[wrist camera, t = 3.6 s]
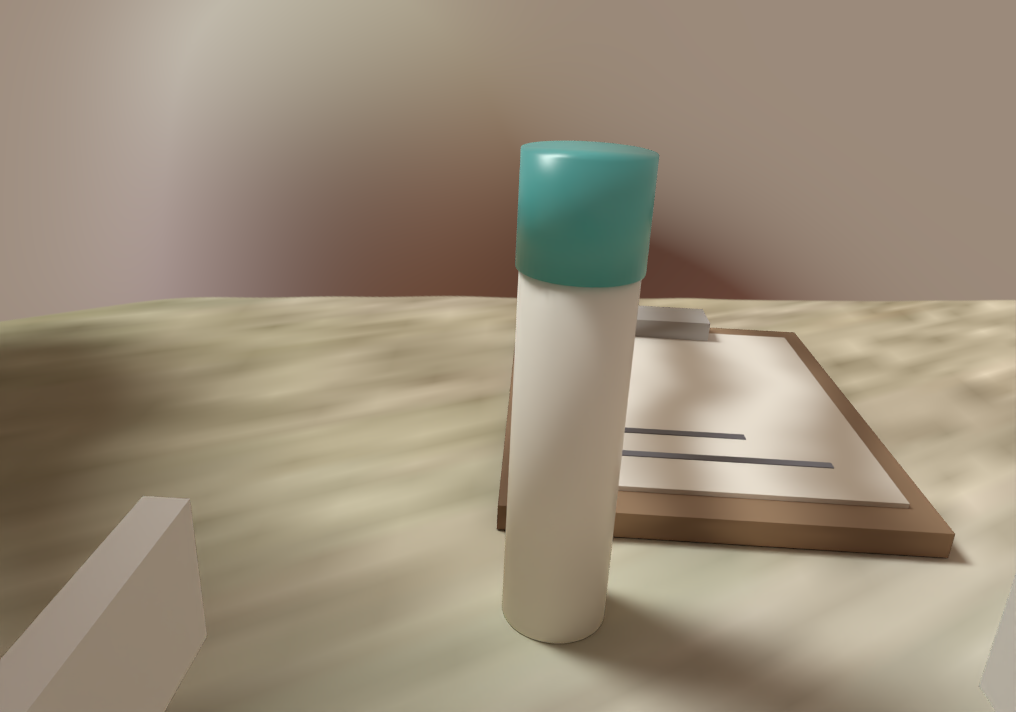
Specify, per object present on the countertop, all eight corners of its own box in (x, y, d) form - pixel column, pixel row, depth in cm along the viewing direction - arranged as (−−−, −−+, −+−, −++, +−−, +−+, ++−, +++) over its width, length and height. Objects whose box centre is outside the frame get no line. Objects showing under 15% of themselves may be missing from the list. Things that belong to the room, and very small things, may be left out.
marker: (495, 641, 24) (518, 157, 18) (501, 569, 27) (522, 138, 22) (611, 649, 24) (668, 165, 18) (604, 576, 27) (650, 144, 22)
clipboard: (496, 529, 29) (499, 475, 28) (517, 333, 48) (518, 297, 47) (947, 557, 29) (963, 504, 28) (791, 348, 47) (798, 312, 46)
